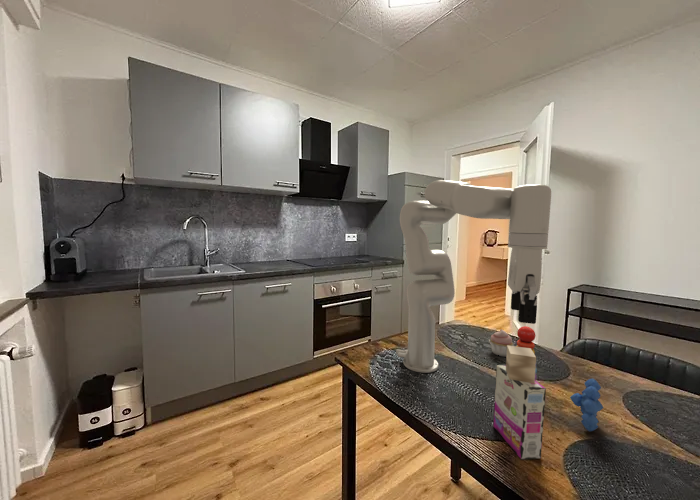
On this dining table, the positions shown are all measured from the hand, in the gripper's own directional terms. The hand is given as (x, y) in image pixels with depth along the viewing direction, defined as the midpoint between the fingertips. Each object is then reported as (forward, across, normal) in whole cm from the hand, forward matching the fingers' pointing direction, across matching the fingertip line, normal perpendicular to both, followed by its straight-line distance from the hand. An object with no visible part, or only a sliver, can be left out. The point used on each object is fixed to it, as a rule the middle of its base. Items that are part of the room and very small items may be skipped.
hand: (522, 315), depth 66 cm
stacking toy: (+31, -31, +7) cm, 44 cm away
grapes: (+31, -14, +18) cm, 38 cm away
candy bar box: (+31, 0, 0) cm, 31 cm away
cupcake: (+31, -52, +3) cm, 61 cm away
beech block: (+14, 0, 0) cm, 14 cm away
